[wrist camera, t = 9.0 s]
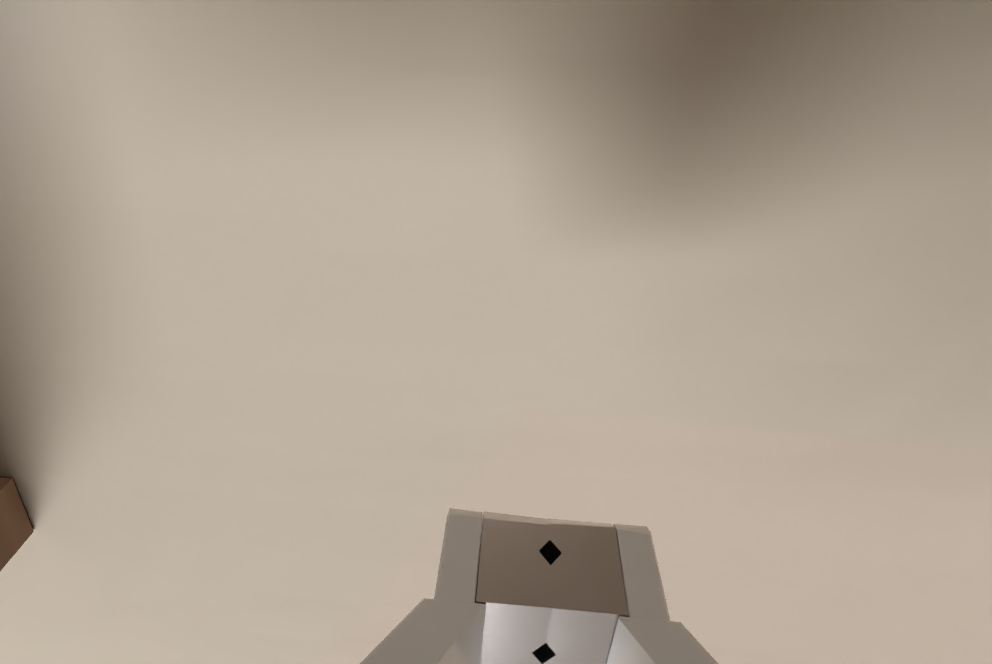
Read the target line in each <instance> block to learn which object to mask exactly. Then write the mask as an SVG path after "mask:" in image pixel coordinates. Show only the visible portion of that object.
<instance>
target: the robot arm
mask: <svg viewBox="0 0 992 664" xmlns="http://www.w3.org/2000/svg"><path fill="white" fill-rule="evenodd" d="M482 516H483V523H482ZM481 529H482V533H481ZM480 541H481V544H480ZM479 553H480V555H479ZM360 664H718V663H717V662H716V661H715V660H714V658H713V657H712V656H711V655H710V654H709V653H708V652H707V651H706V650H705V649H704V647H703V646H702V645H701V644H700V643H699V642H698V641H697V640H696V639H695V638H694V636H693V635H692V634H691V633H690V632H689V631H688V630H687V629H686V628H685V626H684V625H683V624H682V623H681V622H673V621H670V618H669V613H668V608H667V604H666V599H665V595H664V590H663V586H662V581H661V577H660V572H659V567H658V563H657V558H656V554H655V549H654V545H653V540H652V536H651V532H650V531H649V529H648V528H647V527H644V526H631V525H619V524H614V525H612V524H606V523H594V522H582V521H570V520H558V519H542V518H533V517H525V516H516V515H508V514H499V513H491V512H484V514H483V512H476V511H467V510H459V509H451V508H450V510H449V513H448V515H447V521H446V527H445V533H444V540H443V546H442V552H441V559H440V565H439V571H438V578H437V584H436V590H435V597H434V599H425V598H424V599H423V600H422V601H421V602H420V603H419V604H418V605H417V606H416V607H415V608H414V609H413V610H412V611H411V612H410V613H409V614H408V615H407V616H406V617H405V618H404V619H403V620H402V621H401V622H400V623H399V624H398V625H397V626H396V627H395V628H394V629H393V630H392V631H391V632H390V633H389V635H388V636H387V637H386V638H385V639H384V640H383V641H382V642H381V643H380V644H379V645H378V646H377V647H376V648H375V649H374V650H373V651H372V652H371V653H370V654H369V655H368V656H367V657H366V658H365V659H364V660H363V661H362V662H361V663H360Z"/></svg>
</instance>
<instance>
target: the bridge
mask: <svg viewBox="0 0 992 664" xmlns="http://www.w3.org/2000/svg"><path fill="white" fill-rule="evenodd" d="M32 533H33V528H32V526H31V523H30V521H29V518H28V516H27V513H26V511H25V509H24V506H23V504H22V501H21V499H20V496H19V494H18V491H17V489H16V486H15V484H14V481H13V479H12V478H4V477H0V571H1V570H2V568H3V567H4V566H5V565H6V564H7V562H8V561H9V560H10V559H11V558H12V556H13V555H14V554H15V553H16V552H17V551H18V549H19V548H20V547H21V546H22V545H23V543H24V542H25V541H26V540H27V539H28V537H29V536H30V535H31V534H32Z"/></svg>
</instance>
